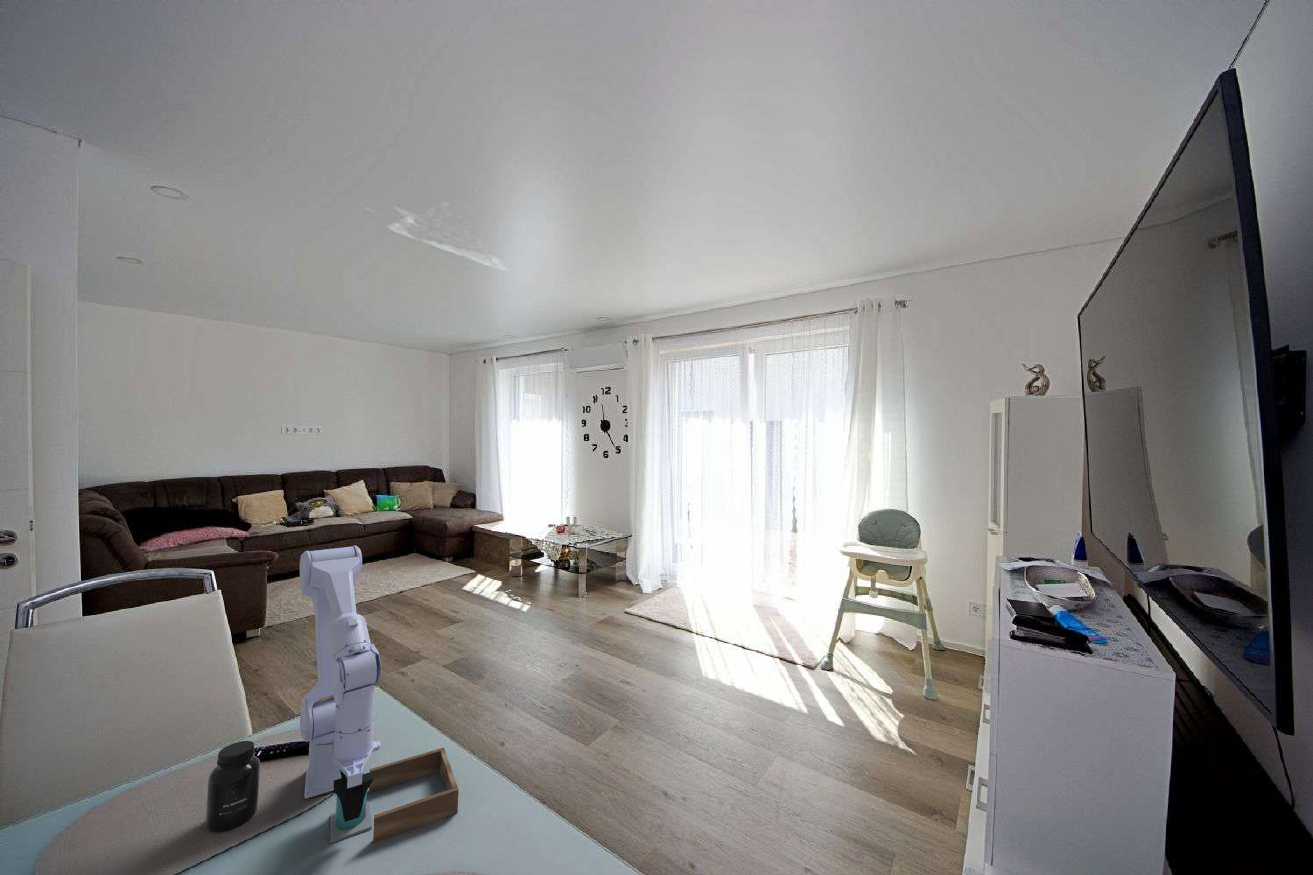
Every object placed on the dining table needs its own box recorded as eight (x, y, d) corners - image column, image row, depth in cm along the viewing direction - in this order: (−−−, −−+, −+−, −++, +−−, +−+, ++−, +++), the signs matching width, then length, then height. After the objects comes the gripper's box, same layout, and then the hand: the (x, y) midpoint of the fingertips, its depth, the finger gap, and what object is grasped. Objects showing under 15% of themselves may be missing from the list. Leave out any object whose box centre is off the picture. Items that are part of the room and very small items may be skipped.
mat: (330, 815, 85) (330, 812, 85) (369, 802, 88) (369, 800, 88) (330, 843, 79) (330, 840, 79) (371, 828, 83) (371, 826, 83)
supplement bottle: (227, 838, 80) (230, 764, 80) (194, 830, 81) (197, 757, 81) (268, 807, 86) (271, 739, 87) (237, 801, 88) (240, 734, 88)
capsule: (335, 816, 84) (337, 778, 85) (365, 806, 87) (366, 769, 87) (335, 833, 81) (337, 794, 81) (366, 822, 83) (367, 784, 83)
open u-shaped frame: (368, 790, 91) (369, 769, 91) (443, 767, 98) (444, 747, 99) (373, 842, 80) (374, 818, 80) (457, 812, 87) (458, 789, 87)
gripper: (384, 738, 80) (381, 822, 80) (378, 698, 92) (375, 771, 92) (333, 752, 76) (329, 840, 76) (333, 709, 88) (330, 784, 88)
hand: (351, 803), depth 84 cm, fingers open, 7 cm apart
